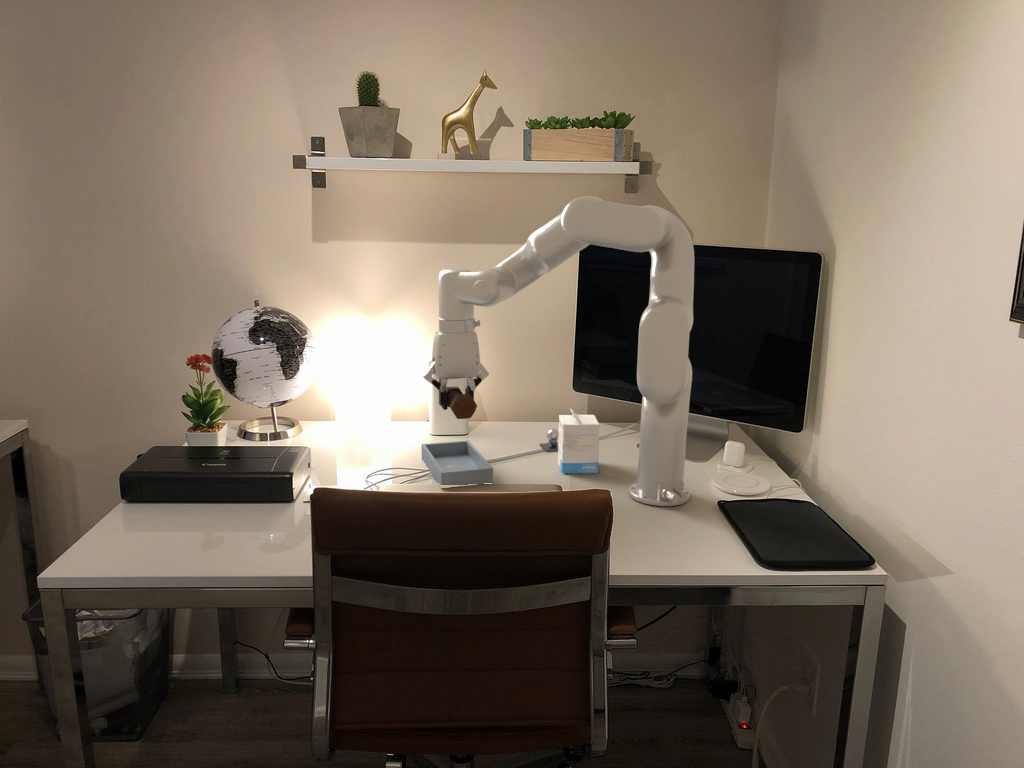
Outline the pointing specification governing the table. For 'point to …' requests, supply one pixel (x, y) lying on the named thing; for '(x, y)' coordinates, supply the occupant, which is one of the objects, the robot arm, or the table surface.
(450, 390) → the bolt
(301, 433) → the table surface
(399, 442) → the table surface
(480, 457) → the parts tray
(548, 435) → the ball stud
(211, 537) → the table surface
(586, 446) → the ink box
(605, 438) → the table surface
